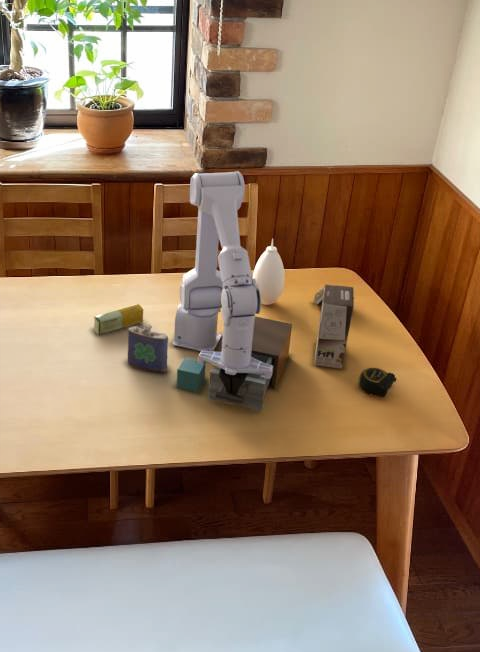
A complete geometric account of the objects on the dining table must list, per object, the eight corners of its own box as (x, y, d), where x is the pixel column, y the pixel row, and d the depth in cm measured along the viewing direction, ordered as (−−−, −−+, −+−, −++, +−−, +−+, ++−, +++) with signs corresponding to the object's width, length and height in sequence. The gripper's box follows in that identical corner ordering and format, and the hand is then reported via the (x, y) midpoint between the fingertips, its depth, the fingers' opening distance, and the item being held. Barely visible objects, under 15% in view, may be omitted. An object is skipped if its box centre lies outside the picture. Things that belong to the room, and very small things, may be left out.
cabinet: (274, 389, 170) (278, 355, 166) (218, 376, 174) (220, 343, 169) (288, 355, 181) (292, 323, 176) (234, 344, 184) (237, 312, 180)
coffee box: (342, 369, 177) (354, 307, 168) (313, 365, 178) (323, 303, 169) (343, 347, 184) (354, 286, 175) (315, 343, 185) (324, 282, 176)
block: (176, 387, 170) (177, 369, 167) (183, 375, 174) (184, 357, 171) (198, 392, 169) (199, 374, 166) (204, 380, 172) (205, 361, 170)
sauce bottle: (283, 311, 197) (291, 245, 187) (251, 310, 197) (257, 244, 187) (279, 295, 204) (287, 231, 194) (249, 294, 204) (255, 230, 194)
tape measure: (383, 403, 167) (386, 388, 165) (352, 391, 170) (355, 377, 168) (394, 387, 172) (398, 373, 170) (364, 376, 175) (367, 362, 173)
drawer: (254, 427, 158) (257, 400, 154) (199, 414, 161) (201, 387, 157) (275, 377, 172) (278, 351, 169) (224, 366, 175) (226, 340, 172)
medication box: (98, 335, 186) (98, 322, 184) (93, 329, 188) (93, 315, 185) (143, 322, 191) (144, 308, 189) (138, 316, 193) (138, 302, 190)
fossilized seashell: (362, 304, 196) (335, 292, 204) (352, 285, 192) (325, 274, 200) (340, 325, 195) (315, 312, 203) (330, 306, 191) (304, 294, 200)
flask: (168, 368, 176) (169, 327, 170) (163, 375, 174) (164, 334, 168) (130, 358, 179) (130, 318, 173) (125, 365, 176) (124, 324, 170)
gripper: (194, 344, 151) (191, 401, 159) (269, 360, 147) (262, 418, 155) (205, 326, 157) (202, 382, 164) (278, 341, 153) (271, 397, 160)
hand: (232, 398), depth 160 cm, fingers closed
